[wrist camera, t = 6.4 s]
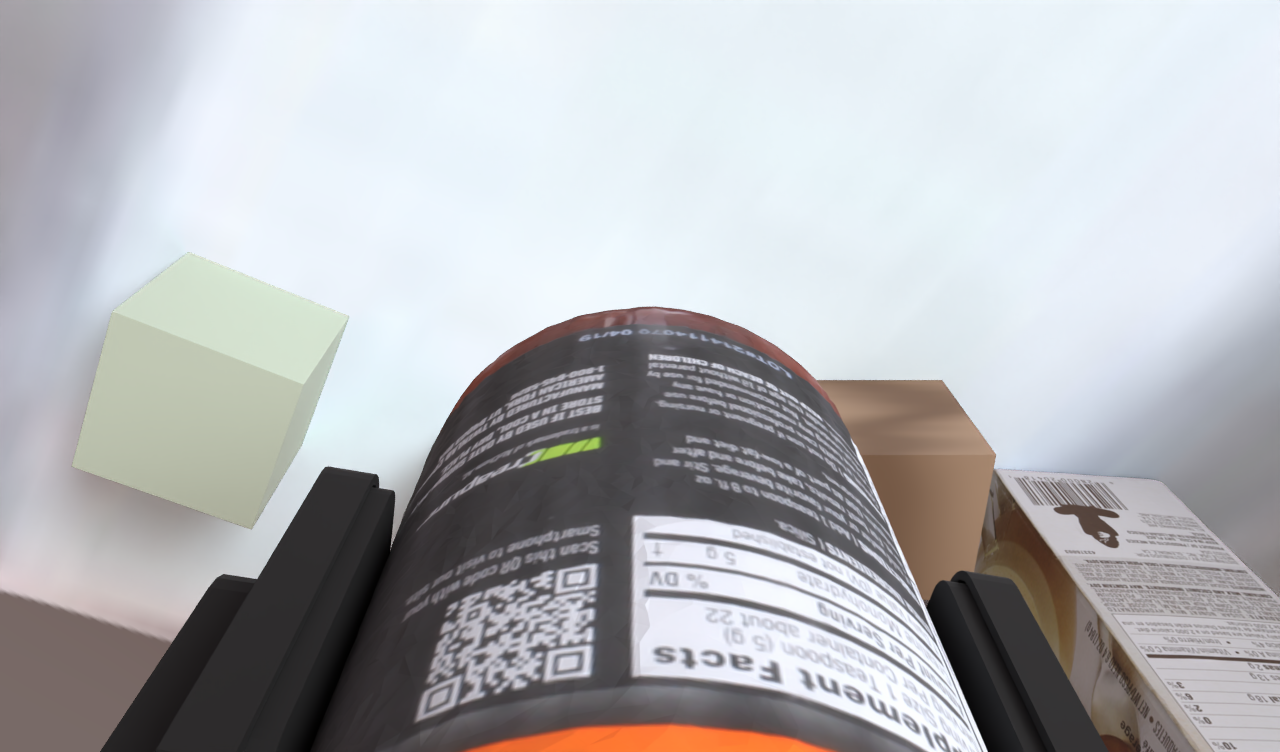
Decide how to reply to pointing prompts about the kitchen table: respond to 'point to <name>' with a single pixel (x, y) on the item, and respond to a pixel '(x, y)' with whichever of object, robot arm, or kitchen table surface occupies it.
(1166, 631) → the coffee box
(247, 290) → the sage cube
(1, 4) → the kitchen table surface
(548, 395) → the supplement bottle
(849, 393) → the walnut cube
